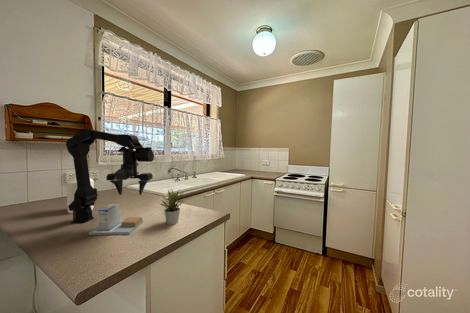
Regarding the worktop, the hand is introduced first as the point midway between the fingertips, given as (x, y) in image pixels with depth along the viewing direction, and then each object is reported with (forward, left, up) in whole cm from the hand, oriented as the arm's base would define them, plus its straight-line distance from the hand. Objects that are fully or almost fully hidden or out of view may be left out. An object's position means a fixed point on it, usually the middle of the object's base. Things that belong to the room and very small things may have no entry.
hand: (130, 194), depth 88 cm
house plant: (+21, -1, -13) cm, 25 cm away
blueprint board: (-2, -7, -13) cm, 15 cm away
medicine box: (-5, -7, -12) cm, 15 cm away
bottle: (-37, +18, -13) cm, 43 cm away
